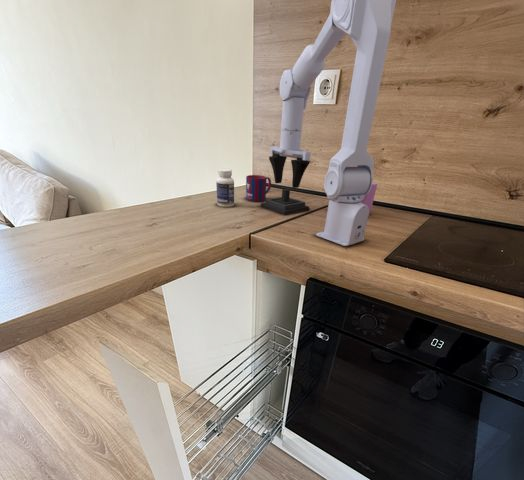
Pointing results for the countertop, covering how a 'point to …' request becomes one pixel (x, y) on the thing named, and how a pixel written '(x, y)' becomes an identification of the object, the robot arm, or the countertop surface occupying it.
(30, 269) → the countertop surface
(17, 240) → the countertop surface
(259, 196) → the mug
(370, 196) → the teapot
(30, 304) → the countertop surface
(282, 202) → the dark grey block
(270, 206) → the base pad
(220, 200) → the pill bottle
